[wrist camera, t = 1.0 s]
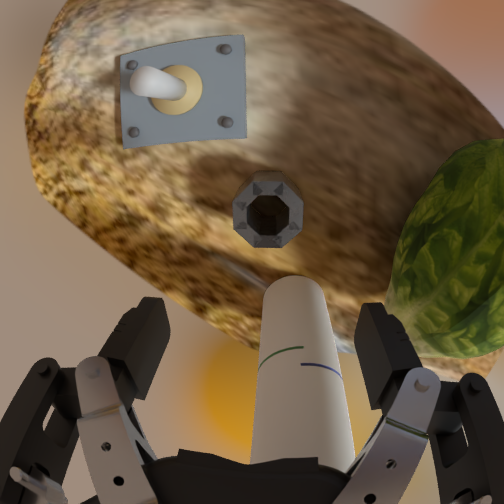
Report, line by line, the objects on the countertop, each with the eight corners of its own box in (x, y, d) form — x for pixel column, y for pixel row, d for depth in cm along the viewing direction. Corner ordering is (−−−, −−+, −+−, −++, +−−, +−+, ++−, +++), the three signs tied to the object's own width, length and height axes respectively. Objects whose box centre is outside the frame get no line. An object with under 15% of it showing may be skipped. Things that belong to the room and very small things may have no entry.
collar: (298, 171, 25) (304, 182, 20) (296, 226, 27) (301, 248, 23) (239, 171, 25) (231, 181, 21) (240, 226, 28) (234, 247, 23)
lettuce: (320, 263, 29) (362, 417, 16) (446, 84, 16) (602, 167, 3) (411, 298, 35) (454, 403, 21) (511, 176, 22) (594, 264, 8)
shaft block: (244, 39, 19) (232, 4, 12) (246, 137, 24) (234, 143, 16) (127, 58, 20) (78, 43, 13) (130, 147, 25) (81, 161, 17)
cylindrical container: (315, 327, 33) (335, 532, 11) (258, 320, 33) (237, 534, 11) (331, 280, 30) (384, 518, 7) (268, 270, 30) (251, 530, 7)
